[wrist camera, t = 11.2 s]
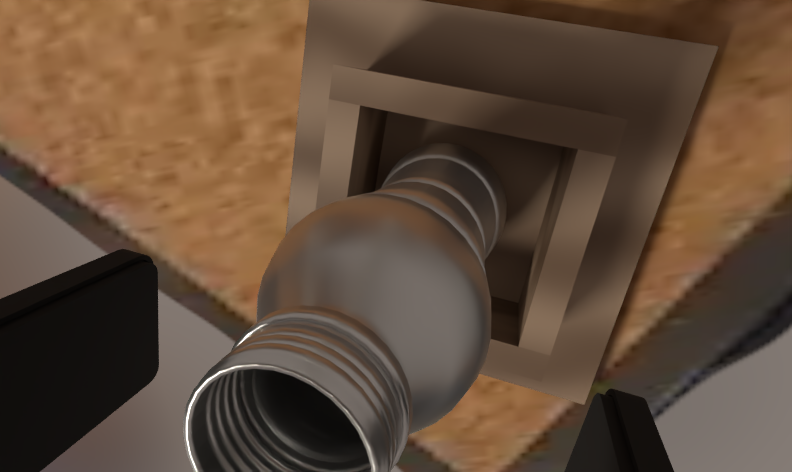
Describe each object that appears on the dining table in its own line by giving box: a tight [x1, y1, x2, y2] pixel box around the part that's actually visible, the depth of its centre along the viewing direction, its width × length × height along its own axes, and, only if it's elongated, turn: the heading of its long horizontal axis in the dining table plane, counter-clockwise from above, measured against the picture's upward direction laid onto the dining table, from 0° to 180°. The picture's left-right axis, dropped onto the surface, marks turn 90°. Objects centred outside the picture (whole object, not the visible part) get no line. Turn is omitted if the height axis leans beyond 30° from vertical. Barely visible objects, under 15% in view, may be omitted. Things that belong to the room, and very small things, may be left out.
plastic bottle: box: [183, 143, 507, 472], centre depth 17 cm, size 6×7×20 cm
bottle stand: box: [286, 0, 719, 404], centre depth 25 cm, size 20×20×6 cm
